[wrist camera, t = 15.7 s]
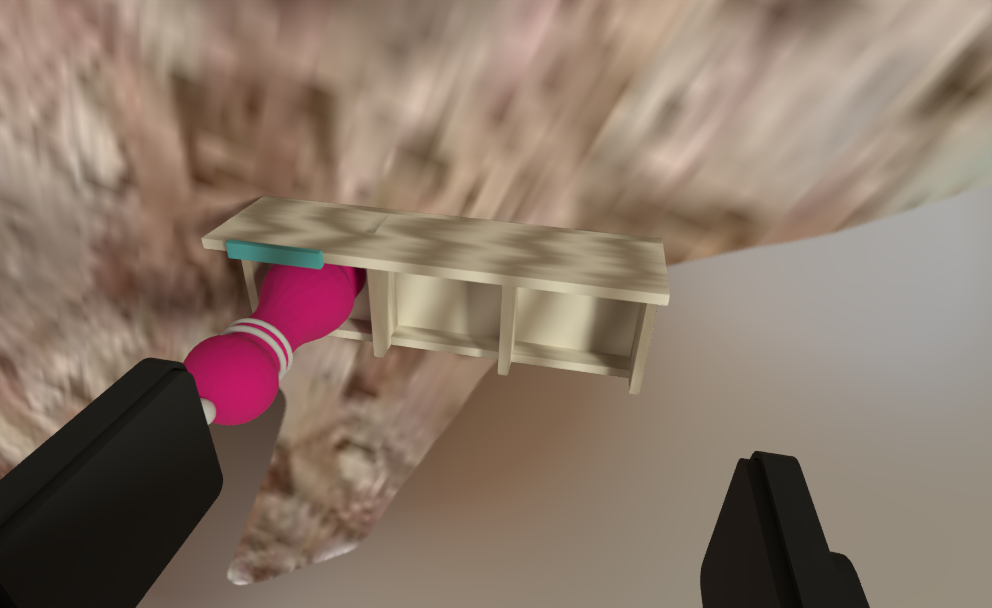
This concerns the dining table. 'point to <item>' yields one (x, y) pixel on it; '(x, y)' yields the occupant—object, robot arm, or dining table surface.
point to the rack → (468, 282)
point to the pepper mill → (270, 339)
